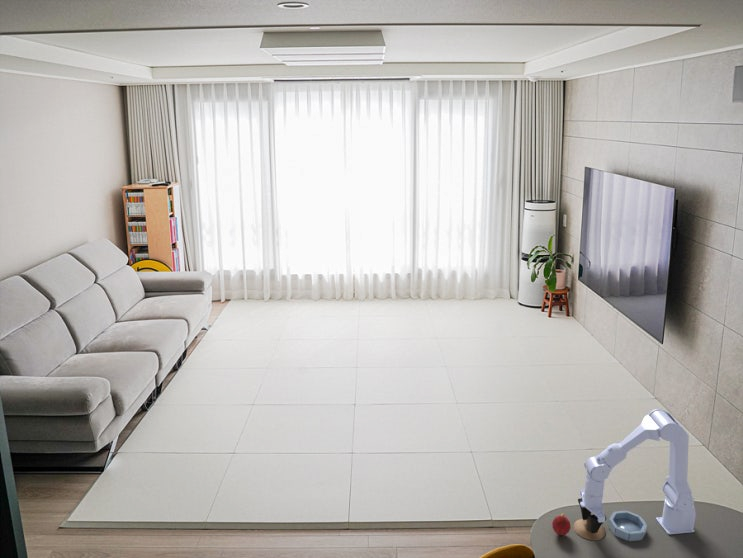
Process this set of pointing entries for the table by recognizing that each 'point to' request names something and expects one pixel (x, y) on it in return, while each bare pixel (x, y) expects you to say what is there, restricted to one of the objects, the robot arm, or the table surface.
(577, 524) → the lid
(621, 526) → the bowl
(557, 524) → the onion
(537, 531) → the table surface
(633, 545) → the table surface
